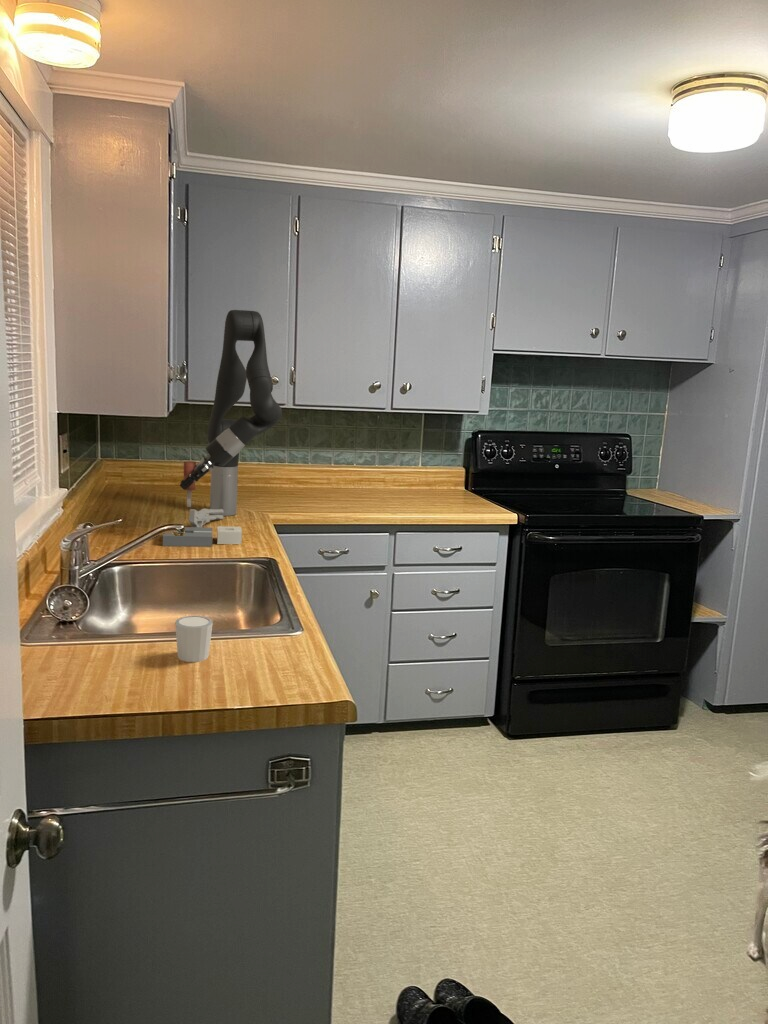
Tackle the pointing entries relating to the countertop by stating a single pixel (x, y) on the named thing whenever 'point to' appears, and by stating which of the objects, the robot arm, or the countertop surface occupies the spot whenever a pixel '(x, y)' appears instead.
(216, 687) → the countertop surface
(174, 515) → the countertop surface
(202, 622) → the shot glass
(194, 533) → the grey flat block
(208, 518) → the gun
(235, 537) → the block
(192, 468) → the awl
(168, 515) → the countertop surface
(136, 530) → the countertop surface
